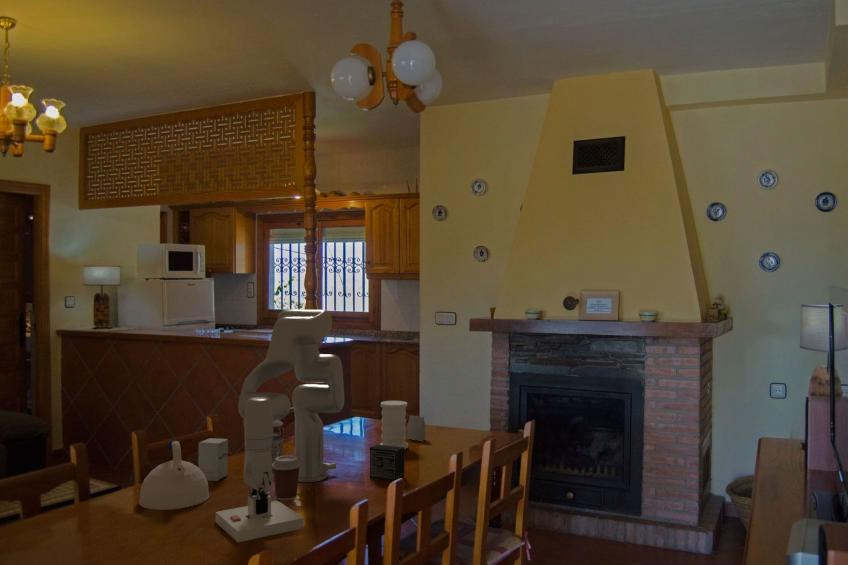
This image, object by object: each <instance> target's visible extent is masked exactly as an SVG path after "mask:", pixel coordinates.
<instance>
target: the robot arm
mask: <svg viewBox="0 0 848 565" xmlns="http://www.w3.org/2000/svg"><path fill="white" fill-rule="evenodd" d="M332 326H333V318H332V315H331V313H330V312H329V311H328V310H325V309H301V308H300V309H297V308H295V309H291V308H290V309H285V310H282V311H280V312H279V313H278V314H277V320H276V322H275V323H274V326H273V329H272V333H271V337H270V342H269V345H268V348H267V353H266V355H265V356H266V357H265V359H264V360H263V361H261V362H260V363H259V364H258V365H257V366H255V368H253V370H251V371H250V372H249V374H248V375H247V376H246V378H245V380H244V382H243V383H242V387H241V390H240V391H241V392H240V394H239V398H238V405H237V408H238V413H239V415H240V416H241V418H244V452H245V453H244V462H243V463H244V464H243V482H244V483H245V484H246V485H247V486H248V487H249V488H248V489H249V491H248V493H249V496H252V495H257V499H256V514H257V515H258V514H264V513H267V512H268V495H269V494H270V493H271V487H272V486H273V468H272V455H271V450H272V449H273V433H274V427H273V421H276V420H279V421H281V420H284V419H285V418H286V417H287V416H288V415H289V413H290V411H291V406H292V405H293V406H292V408H293V414H294V456H296V457H297V458H298V460H299V462H301V463H302V465H301V467H299V477H298V483H314V482H320V481H323V480H325V479H327V478H328V471H329V470H336V469H337V463H336V462H334V463H329V462H326V463H325V462H324V423H323V421H322V419H321V417H320V416H319V413H320V414H337V413H338V414H339V413H340V412H342V410H343V409H344V405H345V385H344V371H343V365H342V364H343V363H342V360H341V358H340V357H339V356H338V355H336V354H330V353H329V354H328V353H327V354H325V353H320V350H319V349H320V348H319V344H320V343H321V342H322V341H323V340H324V339H326V338H327V336H328V335H329V334H330V332H331V330H332ZM292 369H294V376H295V378H296V380H298V381H299V382H301V383H303V384H300V385H297V386H296V387H295V388H294V389H293V392H292V394H291V395H292V396H291V399H292V400H290V398H289V397H288V395H286V394H285V393H280V392H279V393H278V392H257V390H258V389H259V388H260V386H261V385H263V384H264V383H265V382H267V381H269V380H272V379H273V378H276V377H278V376H281V375H282V374H283V375H284V374H285V373H287V372H290V371H291V370H292ZM304 383H305V384H304ZM291 401H292V405H291Z"/></svg>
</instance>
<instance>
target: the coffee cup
mask: <svg viewBox="0 0 848 565" xmlns="http://www.w3.org/2000/svg"><path fill="white" fill-rule="evenodd" d="M301 465H302V463H301V462H299V460H298V458H297V457H296V456H295V455H283V456H280V457H277V458H276V459H275V461H274V463H272V470H273V478H274V493H275V499H276V501H282V502H283V501H293V500H295V499H297V498H298V487H299V482H298V477H299V467H301Z"/></svg>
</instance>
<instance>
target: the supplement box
mask: <svg viewBox="0 0 848 565" xmlns="http://www.w3.org/2000/svg"><path fill="white" fill-rule="evenodd" d="M228 459H229V439H228V438H212V437H211V438H210V437H209V438H206V439H204V440H202V441H200V442H198V459H197V461H198V462H197V463H198V466H197V467H198V468H199V469H200V470H201V471H202V472H203V473H204V475H205V477H206V479H207V481H209V482H211V481H212V482H219V480H221V479H223V478H225V477H227V476H228V474H229V472H228V470H229V469H228V468H229V467H228V465H229V464H228V462H229V460H228Z"/></svg>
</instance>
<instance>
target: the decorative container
mask: <svg viewBox="0 0 848 565" xmlns="http://www.w3.org/2000/svg"><path fill="white" fill-rule="evenodd" d="M407 407H408V402H407V401H403V400H386V401H385V400H384V401H381V402H380V408H382V409H381V417H382V418H381V421H380V422H381V424H382V425H381V436H380V438H381V442H380V443H379V445H387V446H397V447H404V449H405V450H407V449H408V448H409V444H408V442H406V440H407V426H406V423H407V418H406V415H407V410H406V409H407ZM406 448H407V449H406Z"/></svg>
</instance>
